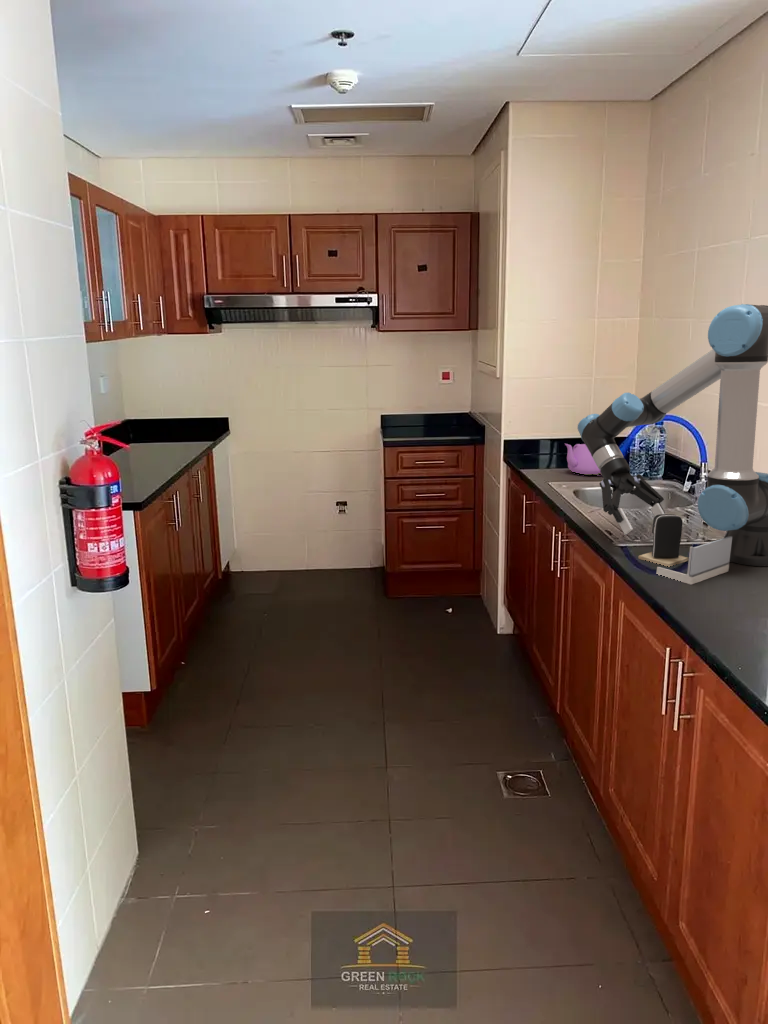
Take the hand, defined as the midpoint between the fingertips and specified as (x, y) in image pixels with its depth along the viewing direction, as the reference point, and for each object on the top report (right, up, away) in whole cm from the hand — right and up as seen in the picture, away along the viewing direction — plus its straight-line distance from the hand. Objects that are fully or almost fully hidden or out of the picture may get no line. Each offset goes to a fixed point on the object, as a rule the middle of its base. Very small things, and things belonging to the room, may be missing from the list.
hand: (647, 528), depth 206 cm
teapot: (+12, +20, +112) cm, 114 cm away
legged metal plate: (+6, -11, -14) cm, 19 cm away
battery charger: (+3, -7, -3) cm, 9 cm away
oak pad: (+3, -8, -3) cm, 9 cm away
